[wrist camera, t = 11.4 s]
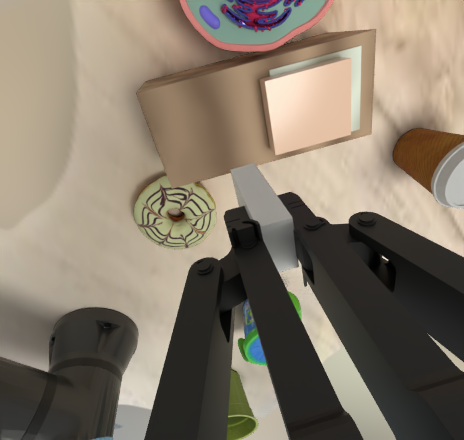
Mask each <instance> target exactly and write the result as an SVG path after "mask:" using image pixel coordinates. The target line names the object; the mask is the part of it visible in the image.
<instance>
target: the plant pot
mask: <svg viewBox="0 0 464 440" xmlns="http://www.w3.org/2000/svg"><path fill="white" fill-rule="evenodd" d="M257 427H258V421H257V419H256V418H255V417H254V415H253V413H252V410H251V408H250V407H249V404H248V401H247V398H246V395H245V392H244V389H243V386H242V383H241V380H240V377H239V375H238V373H237V372H234V371H233V370H231V379H230V395H229V411H228V426H227V440H240V439H243V438H245V437H247V436H249V435H251V434H252V433H253V432H254V431H255V430H256V429H257Z"/></svg>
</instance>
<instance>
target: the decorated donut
mask: <svg viewBox="0 0 464 440" xmlns="http://www.w3.org/2000/svg"><path fill="white" fill-rule="evenodd" d="M176 208H177V209H179V210H180V211H182V212H184V215H183V216H181V217H178V218H176V217H173V216H171V215H170V214H169V213H168V210H170V209H176ZM134 219H135V221H136V223H137V225H138V227H139V229H140V231H141V232H142V233H143V234H144V235H145V236H146V237H147V238H148V239H150V240H151V241H152V242H154V243H156V244H157V245H160V246H163V247H166V248H171V249H183V248H189V247H192V246H194V245H197V244H199V243H200V242H202V241H203V240H204V239H205V238H206V237H207V236H208V234H209V233H210V231H211V229H212V228H213V226H214V225H215V222H216V207H215V202H214V200H213V199H212V197H211V196H210V195H209V193H208V192H207V191H206V189H205V188H204V187H203V186H201V185H200V184H198V183H196V182H195V183H191V184H188V185H184V186H180V187H177V188H173V189H172V188H171V185H170V182H169V180H168V177H167V175H165V176H163V177H161V178H159V179H158V180H156V181H154V182H153V183H151V184H149V185H148V186H147V187H146V188H144V189H143V191H142V192H141V193H140V195H139V197H138V200H137V202H136V204H135V207H134Z"/></svg>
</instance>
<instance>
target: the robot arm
mask: <svg viewBox="0 0 464 440" xmlns="http://www.w3.org/2000/svg"><path fill="white" fill-rule="evenodd" d="M230 171H231V175H232V179H233V183H234V187H235V191H236V196H237V200H238V204H239V207H238V208H234V209H231V210H227V211H226V212H225V215H224V220H225V224H226V227H227V231H228V234H229V238H230V241H231V245H232V248H231V251H230V252H229V254H228V255H227V256H225V257H224V258H222V259H221V260H219V261H218V260H217V259H215V258H208V257H207V258H203V259H200V260H198V261H196V262H195V263H194V264H193V265H192V266H191V267H190V269H189V272H188V276H187V280H186V283H185V287H184V291H183V295H182V299H181V302H180V306H179V310H178V314H177V318H176V321H175V325H174V329H173V333H172V336H171V340H170V344H169V348H168V352H167V355H166V359H165V363H164V367H163V371H162V374H161V378H160V382H159V386H158V390H157V393H156V397H155V401H154V405H153V409H152V413H151V416H150V420H149V424H148V428H147V431H146V436H145V439H144V440H227V426H228V411H229V395H230V379H231V364H232V348H233V332H234V317H235V308H234V307H235V306H237V305H238V304H240V303H241V302H243V301H245V300H246V299H248V303H249V306H250V310H251V313H252V316H253V320H254V323H255V326H256V330H257V333H258V336H259V340H260V343H261V347H262V350H263V353H264V357H265V360H266V363H267V367H268V370H269V374H270V377H271V380H272V384H273V387H274V390H275V394H276V397H277V400H278V404H279V407H280V411H281V414H282V417H283V420H284V424H285V427H286V431H287V434H288V437H289V440H363V438H362V436H361V434H360V431H359V430H358V428H357V426H356V424H355V422H354V420H353V419H352V417H351V416H350V415H349V413H347V412H346V411H345V410H344V409H343V408H342V406H341V404H340V402H339V400H338V398H337V395H336V394H335V391H334V389H333V387H332V385H331V383H330V380H329V378H328V376H327V374H326V372H325V370H324V368H323V366H322V363H321V361H320V359H319V357H318V355H317V353H316V351H315V349H314V347H313V344H312V342H311V340H310V338H309V336H308V334H307V332H306V330H305V327H304V325H303V323H302V321H301V319H300V317H299V315H298V313H297V310H296V308H295V306H294V304H293V302H292V300H291V298H290V296H289V294H288V291H287V289H286V287H285V285H284V283H283V281H282V279H281V277H280V274H279V272H283V271H286V270H289V269H293V268H296V267H299V264H298V259H299V261H300V263H301V264H302V272H303V281H304V286H307V282H308V284H309V285H310V287H311V289H312V291H313V292H314V294H315V296H316V298H317V299H318V301H319V303H320V305H321V306H322V308H323V310H324V312H325V314H326V315H327V317H328V319H329V321H330V322H331V324H332V326H333V328H334V329H335V331H336V333H337V335H338V336H339V338H340V340H341V342H342V343H343V345H344V347H345V349H346V350H347V352H348V354H349V356H350V358H351V359H352V361H353V363H354V364H355V366H356V368H357V370H358V372H359V373H360V375H361V377H362V379H363V380H364V382H365V384H366V386H367V388H368V389H369V391H370V392H371V395H372V396H373V398H374V400H375V401H376V403H377V405H378V407H379V409H380V410H381V412H382V414H383V416H384V417H385V419H386V421H387V423H388V424H389V426H390V428H391V430H392V431H393V433H394V435H395V437H396V440H464V372H462V371H461V370H460V369H459V368H458V367H457V366H455V364H454V363H453V362H452V361H451V360H450V359H449V358H448V357H447V355H446V354H445V353H444V352H443V351H442V350H441V349H440V347H439V346H438V345H437V344H436V343H435V342H434V341H433V340H432V338H430V336H432V337H433V338H434V339H435V340H437V341H438V342H439V343H440V344H441V345H443V346H444V347H445V348H447V349H448V350H449V351H451V352H452V353H453V354H454V355H455V356H457V357H458V358H459V359H460V360H462V361H463V362H464V257H462V256H460V255H458V254H456V253H454V252H452V251H450V250H448V249H446V248H444V247H442V246H440V245H438V244H436V243H434V242H432V241H430V240H428V239H426V238H425V237H423V236H421V235H419V234H417V233H415V232H413V231H411V230H409V229H407V228H405V227H403V226H401V225H399V224H397V223H395V222H393V221H391V220H389V219H387V218H385V217H383V216H381V215H379V214H376V213H373V212H359V213H356V214H354V215H352V216H351V217H350V219H349V224H330V223H329V222H328V221H327V220H326V219H324V218H321V217H316V216H315V215H314V214H313V213H312V211H311V210H310V209H309V208H308V207H307V205H305V203H304V202H303V201H302V199H301V198H300V197H299V196H298V195H296V194H294V193H292V192H288V193H285V194H281V195H278V196H277V195H276V193H275V192H274V190H273V189H272V188H271V186H270V185H269V183H268V182H267V180H266V179H265V178H264V176H263V175H262V173H261V172H260V170H259V169H258V168H257V166H256V165H255V163H253V164H249V165H245V166H242V167H238V168H235V169H231V170H230ZM382 256H384V257H385V258H387V259H388V260H389V261H387V260H385V259H383V258H382ZM427 333H428V334H429V335H430V336H429V335H428V334H427ZM137 342H138V329H137V327H136V325H135V324H134V322H133V321H132V320H131V319H129V318H128V317H127V316H125V315H123V314H121V313H119V312H116V311H113V310H109V309H103V308H87V309H81V310H77V311H74V312H71V313H69V314H67V315H65V316H64V317H63V318H61V319H60V320H59V321H58V322H57V324H56V325H55V328H54V330H53V332H52V335H51V337H50V342H49V371H48V372H45V371H42V370H39V369H36V368H33V367H30V366H27V365H24V364H21V363H18V362H15V361H12V360H9V359H6V358H3V357H0V440H113V431H114V425H115V419H116V412H117V406H118V400H119V394H120V387H121V381H122V376H123V374H124V372H125V370H126V368H127V366H128V364H129V362H130V360H131V358H132V355H133V354H134V352H135V350H136V347H137Z"/></svg>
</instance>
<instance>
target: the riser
mask: <svg viewBox="0 0 464 440" xmlns="http://www.w3.org/2000/svg"><path fill="white" fill-rule="evenodd" d="M375 43H376V29H372V30H358V31H345V32H331V33H326V34H322V35H318V36H314V37H311V38H307V39H303V40H299V41H296V42H292V43H288V44H284V45H281V46H279V47H277V48H275V49H273V50H268V51H258V52H255V53H251V54H247V55H243V56H240V57H236V58H232V59H228V60H225V61H221V62H217V63H213V64H210V65H206V66H202V67H198V68H195V69H191V70H187V71H183V72H180V73H176V74H172V75H168V76H165V77H161V78H157V79H153V80H150V81H146V82H145V83H144V85H143V86H142V87H141V88H140V89H139V90H138V92H137V93H136V95H137V97H138V100H139V103H140V105H141V108H142V111H143V113H144V116H145V119H146V121H147V124H148V127H149V129H150V132H151V134H152V137H153V140H154V142H155V145H156V148H157V150H158V153H159V156H160V158H161V161H162V164H163V166H164V169H165V172H166V174H167V177H168V180H169V182H170V185H171V188H172V189H173V188H177V187H180V186H184V185H188V184H191V183H195V182H199V181H202V180H206V179H210V178H213V177H217V176H221V175H224V174H228V173H231V171H230V170H231V169H235V168H238V167H242V166H245V165H249V164H253V163H255V165H256V166H257V165H261V164H264V163H268V162H272V161H275V160H279V159H283V158H286V157H290V156H293V155H297V154H301V153H304V152H308V151H312V150H315V149H319V148H323V147H326V146H330V145H334V144H337V143H341V142H345V141H348V140H352V139H356V138H359V137H363V136H366V135H370V134H371V132H372V110H373V87H374V65H375ZM339 57H345V58H351V135H348V136H345V137H341V138H337V139H334V140H330V141H326V142H323V143H319V144H316V145H312V146H308V147H305V148H301V149H297V150H294V151H290V152H286V153H283V154H279V155H275V154H274V153H273V152H272V151H271V150H270V144H269V138H268V131H267V125H266V119H265V112H264V106H263V99H262V93H261V86H260V80H259V79H262V78H266V77H269V76H273V75H277V74H280V73H284V72H288V71H291V70H295V69H299V68H302V67H306V66H310V65H314V64H317V63H321V62H325V61H328V60H332V59H336V58H339Z"/></svg>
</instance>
